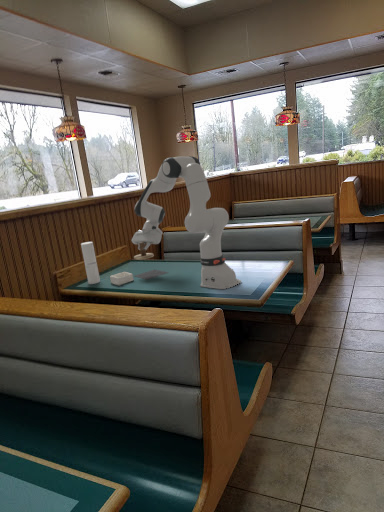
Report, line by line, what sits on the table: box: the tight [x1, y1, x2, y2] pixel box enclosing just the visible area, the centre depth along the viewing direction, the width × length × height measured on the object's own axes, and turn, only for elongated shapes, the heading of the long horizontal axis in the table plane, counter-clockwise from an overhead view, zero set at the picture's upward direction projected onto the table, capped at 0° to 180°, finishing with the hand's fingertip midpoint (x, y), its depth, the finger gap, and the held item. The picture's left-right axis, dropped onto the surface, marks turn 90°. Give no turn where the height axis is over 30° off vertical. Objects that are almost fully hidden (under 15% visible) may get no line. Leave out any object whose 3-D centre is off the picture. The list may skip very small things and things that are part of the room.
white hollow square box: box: [109, 271, 134, 286], centre depth 229 cm, size 10×10×4 cm
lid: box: [133, 242, 155, 261], centre depth 232 cm, size 12×12×9 cm
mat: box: [134, 269, 169, 281], centre depth 236 cm, size 16×16×1 cm
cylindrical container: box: [80, 241, 101, 285], centre depth 234 cm, size 7×7×25 cm
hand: (142, 249), depth 231 cm, fingers closed on lid, 3 cm apart
